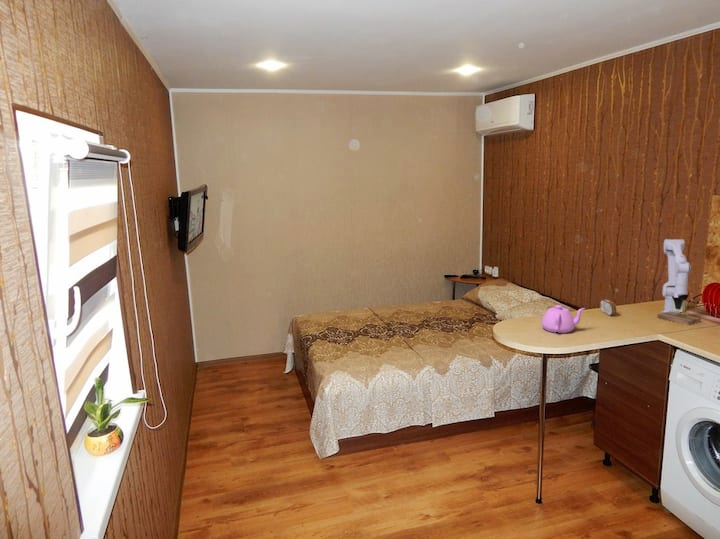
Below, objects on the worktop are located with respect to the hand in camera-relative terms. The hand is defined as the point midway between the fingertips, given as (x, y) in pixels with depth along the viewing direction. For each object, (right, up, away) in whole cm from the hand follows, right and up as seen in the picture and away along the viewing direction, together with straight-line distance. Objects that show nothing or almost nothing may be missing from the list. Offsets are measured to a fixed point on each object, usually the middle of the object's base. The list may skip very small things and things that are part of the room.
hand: (679, 307), depth 267 cm
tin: (-31, -6, +19) cm, 37 cm away
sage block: (0, -2, 0) cm, 2 cm away
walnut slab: (0, -8, +1) cm, 8 cm away
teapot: (-70, -12, -8) cm, 71 cm away
